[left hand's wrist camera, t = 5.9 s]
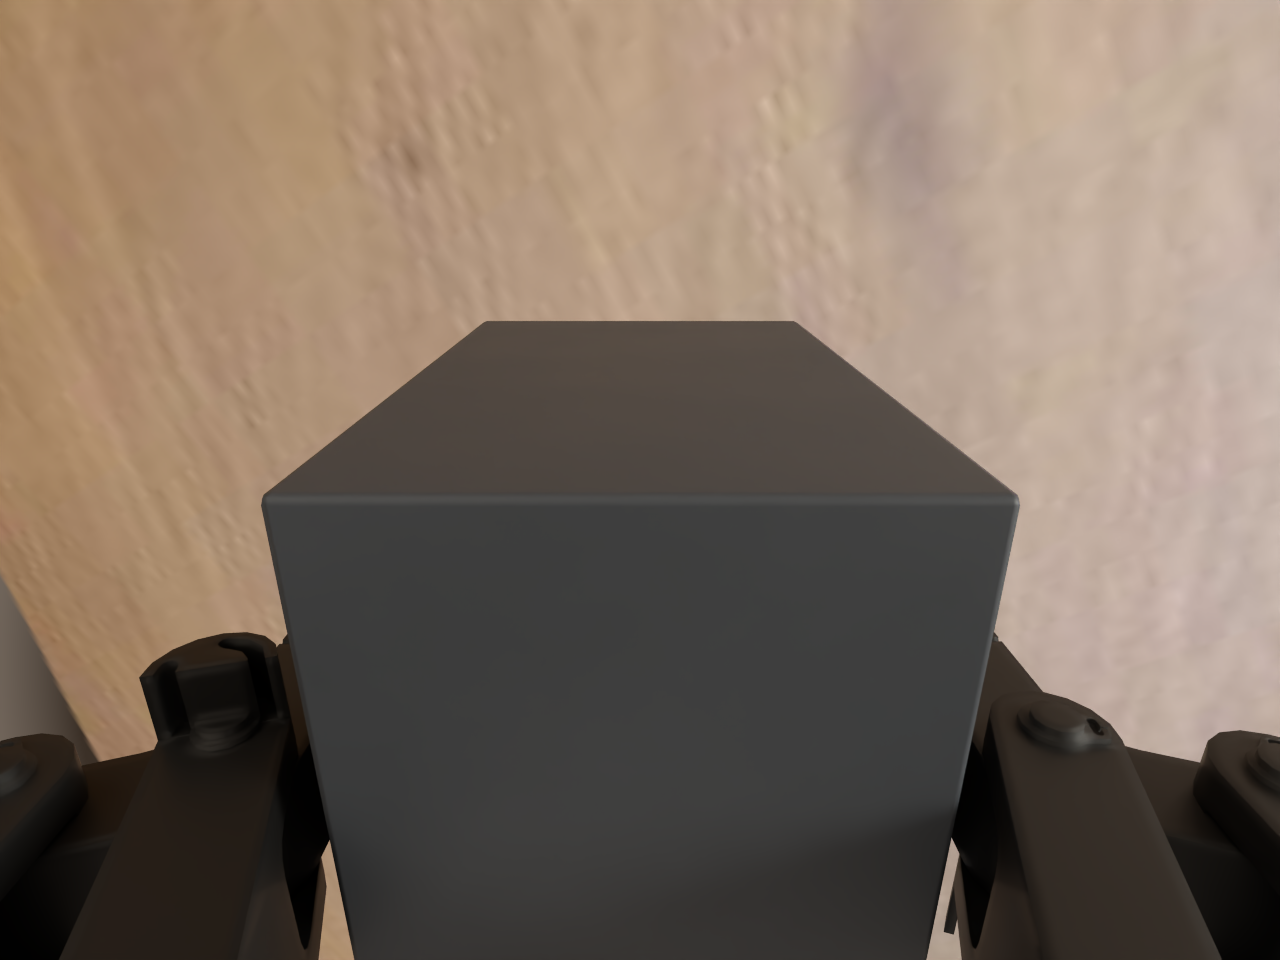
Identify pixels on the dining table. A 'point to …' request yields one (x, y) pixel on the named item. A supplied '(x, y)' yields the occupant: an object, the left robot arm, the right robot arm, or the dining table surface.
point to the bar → (640, 648)
